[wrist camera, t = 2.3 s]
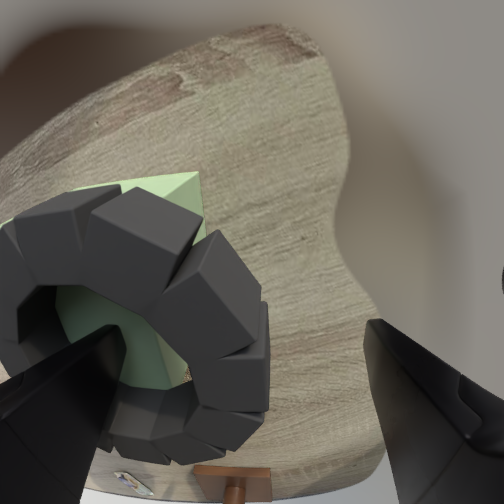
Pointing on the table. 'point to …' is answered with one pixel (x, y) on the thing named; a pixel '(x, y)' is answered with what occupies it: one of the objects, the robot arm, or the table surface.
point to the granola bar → (133, 483)
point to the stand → (234, 484)
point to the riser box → (131, 324)
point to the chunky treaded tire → (144, 314)
